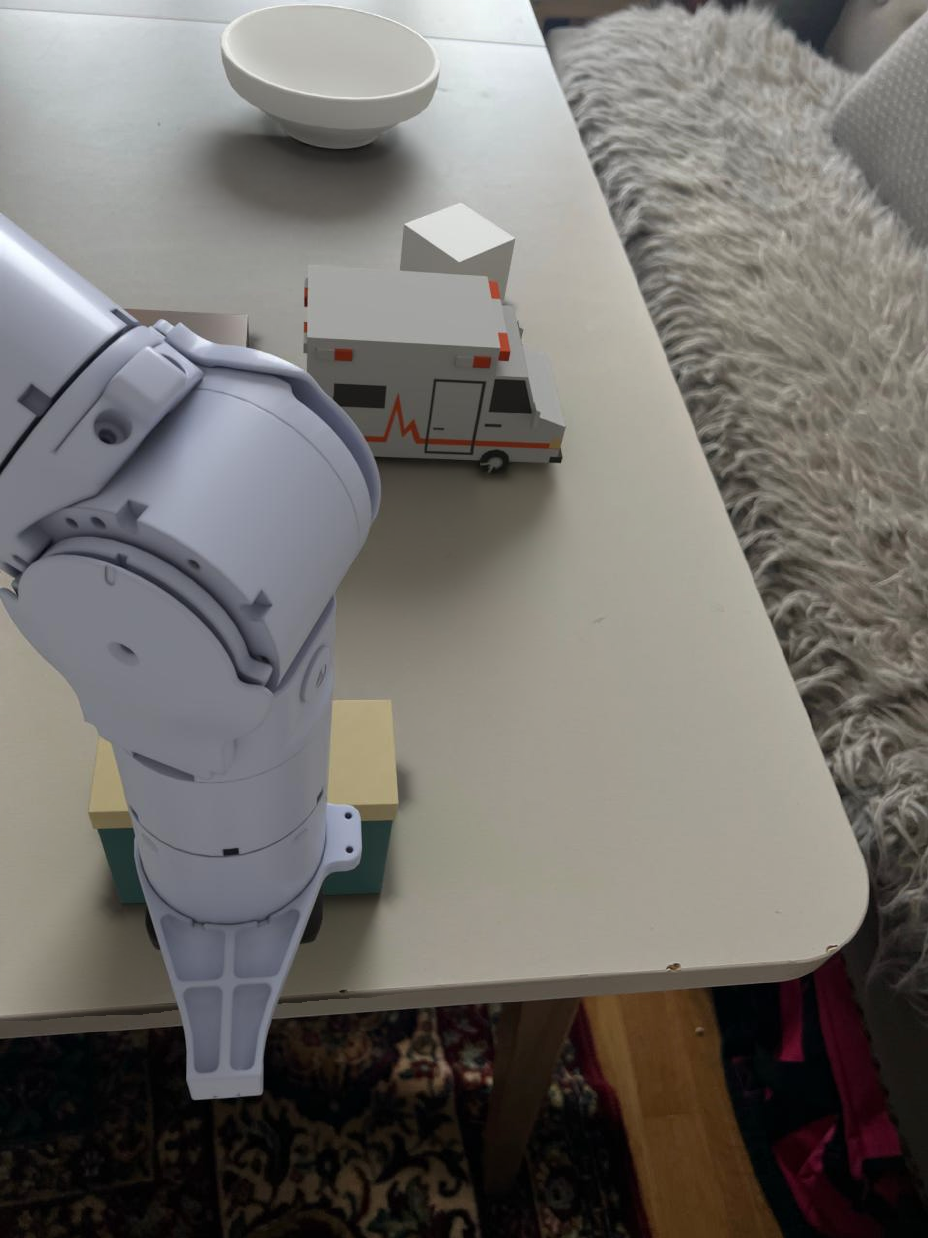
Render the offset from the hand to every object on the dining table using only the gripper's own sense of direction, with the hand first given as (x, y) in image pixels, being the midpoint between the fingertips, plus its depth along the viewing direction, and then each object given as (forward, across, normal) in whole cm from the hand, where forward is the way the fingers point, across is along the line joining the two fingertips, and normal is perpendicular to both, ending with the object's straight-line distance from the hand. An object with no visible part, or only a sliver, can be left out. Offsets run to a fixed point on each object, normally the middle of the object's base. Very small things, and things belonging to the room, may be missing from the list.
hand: (245, 946), depth 39 cm
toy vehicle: (+7, +38, -11) cm, 41 cm away
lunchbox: (+7, +8, 0) cm, 10 cm away
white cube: (+7, +54, -14) cm, 57 cm away
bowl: (+7, +82, -5) cm, 82 cm away
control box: (+7, +41, +6) cm, 42 cm away
